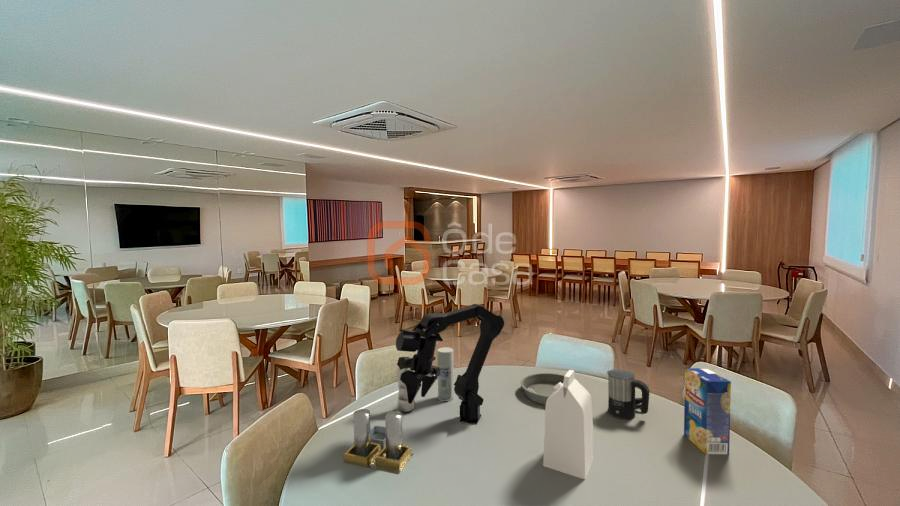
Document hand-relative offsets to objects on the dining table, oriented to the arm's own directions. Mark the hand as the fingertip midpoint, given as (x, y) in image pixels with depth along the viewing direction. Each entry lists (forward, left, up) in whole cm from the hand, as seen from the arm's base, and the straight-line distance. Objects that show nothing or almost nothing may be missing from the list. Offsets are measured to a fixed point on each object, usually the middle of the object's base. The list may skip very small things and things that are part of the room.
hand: (416, 399), depth 121 cm
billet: (0, +15, -11) cm, 19 cm away
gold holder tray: (+5, +16, -12) cm, 21 cm away
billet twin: (+10, +17, -11) cm, 22 cm away
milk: (-48, -1, -12) cm, 49 cm away
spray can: (0, -29, -12) cm, 31 cm away
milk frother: (-68, -39, -12) cm, 80 cm away
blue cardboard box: (-88, -23, -12) cm, 92 cm away
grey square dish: (+10, +7, -12) cm, 17 cm away
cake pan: (-40, -46, -12) cm, 62 cm away
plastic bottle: (+11, -15, -12) cm, 22 cm away
